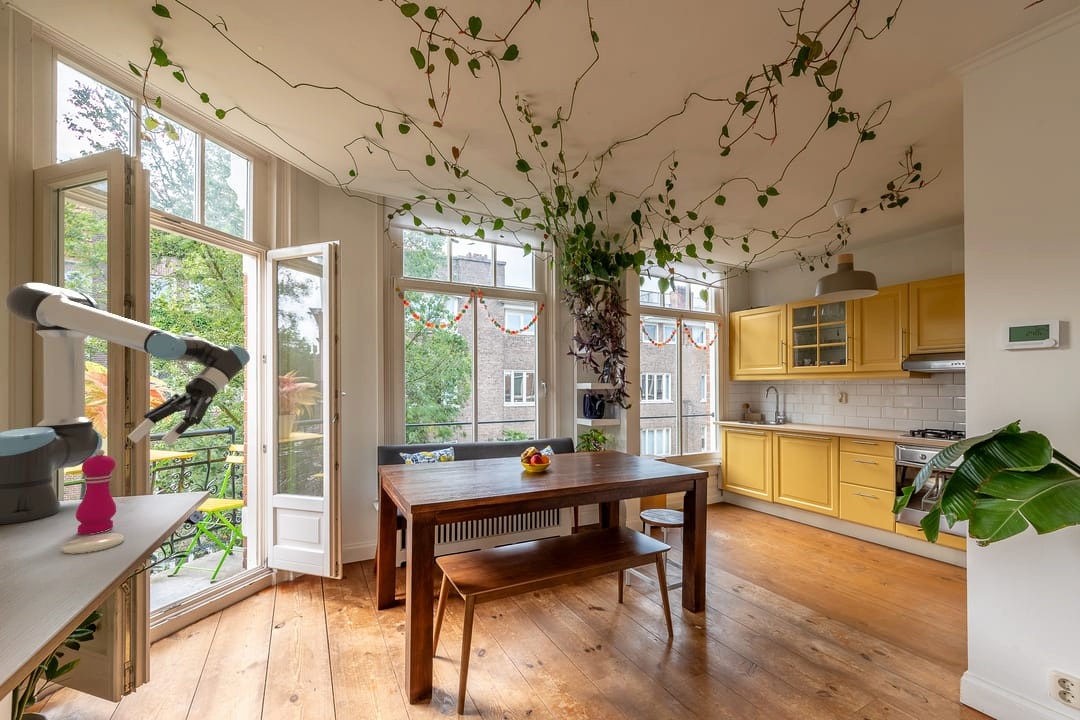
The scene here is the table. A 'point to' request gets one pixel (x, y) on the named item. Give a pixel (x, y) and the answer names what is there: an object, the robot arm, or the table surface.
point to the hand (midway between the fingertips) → (148, 441)
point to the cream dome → (93, 543)
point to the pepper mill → (96, 495)
